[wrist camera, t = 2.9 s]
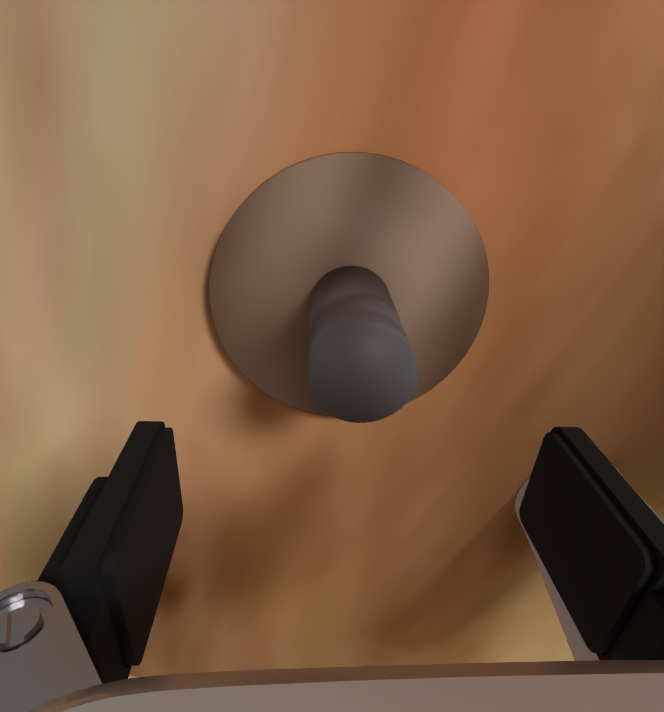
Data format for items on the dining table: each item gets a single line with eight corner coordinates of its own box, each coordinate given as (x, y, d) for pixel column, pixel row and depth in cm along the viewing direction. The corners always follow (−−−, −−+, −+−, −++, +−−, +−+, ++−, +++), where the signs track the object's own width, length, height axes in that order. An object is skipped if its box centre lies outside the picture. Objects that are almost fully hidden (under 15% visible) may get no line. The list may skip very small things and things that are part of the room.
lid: (511, 160, 18) (611, 193, 12) (453, 408, 24) (501, 513, 18) (203, 141, 17) (145, 165, 11) (221, 401, 23) (189, 509, 17)
